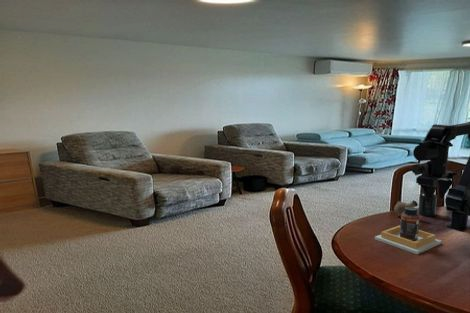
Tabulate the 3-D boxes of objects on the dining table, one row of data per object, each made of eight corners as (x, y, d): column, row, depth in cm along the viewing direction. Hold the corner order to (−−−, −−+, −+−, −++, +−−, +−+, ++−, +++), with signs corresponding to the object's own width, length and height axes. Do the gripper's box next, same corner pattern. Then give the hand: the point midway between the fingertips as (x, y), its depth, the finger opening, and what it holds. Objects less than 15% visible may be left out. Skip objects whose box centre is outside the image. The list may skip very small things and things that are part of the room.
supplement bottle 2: (437, 214, 168) (439, 187, 166) (432, 217, 163) (435, 190, 161) (420, 210, 173) (423, 185, 171) (415, 214, 168) (417, 187, 166)
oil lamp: (416, 218, 163) (418, 199, 161) (415, 220, 159) (417, 202, 158) (394, 214, 167) (395, 196, 166) (393, 217, 164) (394, 199, 163)
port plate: (399, 230, 148) (399, 222, 148) (441, 243, 136) (442, 235, 135) (374, 239, 139) (375, 231, 139) (417, 254, 126) (418, 245, 126)
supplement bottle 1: (421, 241, 135) (424, 210, 133) (405, 242, 134) (408, 211, 132) (410, 235, 141) (413, 205, 139) (396, 236, 140) (398, 206, 138)
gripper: (429, 153, 152) (426, 191, 155) (404, 158, 142) (400, 199, 144) (459, 157, 144) (455, 198, 146) (434, 163, 133) (430, 206, 135)
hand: (434, 200), depth 143 cm, fingers open, 9 cm apart
